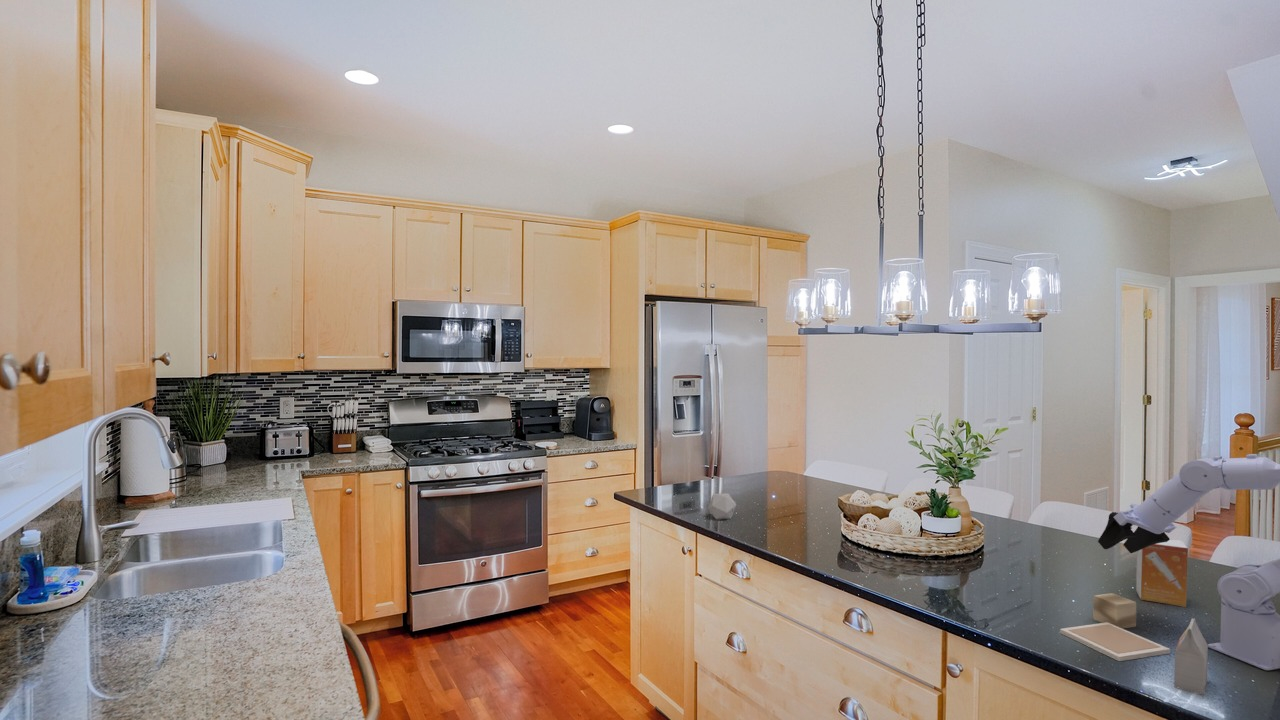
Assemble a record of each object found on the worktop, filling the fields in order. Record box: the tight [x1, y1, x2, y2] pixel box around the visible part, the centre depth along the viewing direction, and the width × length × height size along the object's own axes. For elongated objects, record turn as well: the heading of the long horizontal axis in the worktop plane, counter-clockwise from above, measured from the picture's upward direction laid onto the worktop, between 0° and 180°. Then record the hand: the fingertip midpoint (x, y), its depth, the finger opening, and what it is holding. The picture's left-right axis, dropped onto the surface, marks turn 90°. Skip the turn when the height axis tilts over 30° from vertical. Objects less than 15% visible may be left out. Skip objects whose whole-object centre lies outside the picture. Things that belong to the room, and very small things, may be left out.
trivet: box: [1059, 622, 1171, 662], centre depth 124 cm, size 12×12×1 cm
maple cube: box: [1092, 592, 1137, 629], centre depth 133 cm, size 5×5×5 cm
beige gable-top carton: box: [1173, 617, 1209, 696], centre depth 109 cm, size 4×7×10 cm, turn 136°
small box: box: [1135, 539, 1189, 608], centre depth 145 cm, size 8×6×13 cm
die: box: [707, 493, 737, 521], centre depth 213 cm, size 8×9×10 cm
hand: (1114, 547), depth 136 cm, fingers open, 7 cm apart
